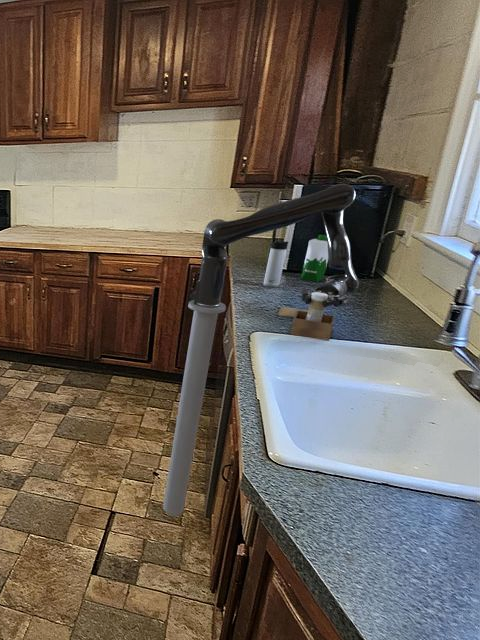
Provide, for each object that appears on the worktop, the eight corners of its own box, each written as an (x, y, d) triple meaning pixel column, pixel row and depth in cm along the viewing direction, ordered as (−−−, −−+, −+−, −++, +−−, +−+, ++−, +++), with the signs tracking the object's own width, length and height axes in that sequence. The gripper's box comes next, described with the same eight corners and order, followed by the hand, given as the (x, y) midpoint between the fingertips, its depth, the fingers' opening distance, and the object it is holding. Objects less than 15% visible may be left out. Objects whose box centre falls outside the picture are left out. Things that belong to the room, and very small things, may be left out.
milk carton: (325, 279, 246) (336, 236, 238) (318, 282, 240) (329, 238, 233) (305, 276, 252) (315, 233, 244) (298, 279, 246) (308, 235, 238)
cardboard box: (289, 334, 175) (293, 318, 173) (293, 325, 183) (297, 310, 181) (328, 340, 169) (333, 324, 167) (330, 331, 178) (334, 315, 176)
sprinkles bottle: (303, 329, 179) (313, 291, 174) (319, 332, 177) (329, 293, 172) (301, 333, 176) (311, 294, 171) (317, 336, 173) (327, 296, 168)
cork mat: (277, 315, 194) (277, 314, 194) (281, 307, 203) (281, 306, 203) (314, 321, 188) (314, 319, 188) (316, 312, 197) (317, 311, 197)
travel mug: (272, 288, 230) (282, 242, 222) (259, 285, 235) (269, 239, 228) (282, 287, 232) (292, 241, 224) (269, 283, 238) (279, 238, 230)
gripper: (309, 278, 185) (294, 287, 173) (356, 285, 176) (344, 295, 164) (304, 299, 188) (289, 309, 176) (350, 307, 179) (338, 318, 167)
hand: (316, 302), depth 170 cm, fingers closed on sprinkles bottle, 4 cm apart
